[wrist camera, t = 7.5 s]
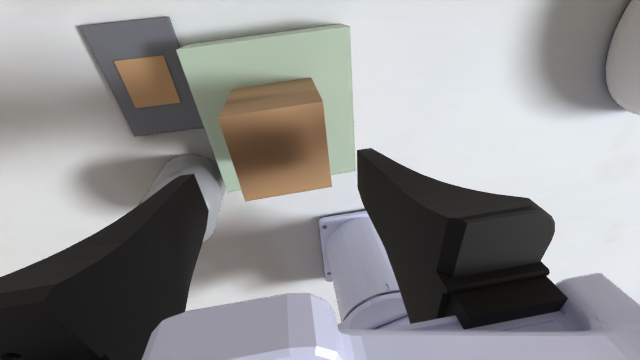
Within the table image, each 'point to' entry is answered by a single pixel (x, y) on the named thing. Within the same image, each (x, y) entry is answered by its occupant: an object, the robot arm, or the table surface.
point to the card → (145, 74)
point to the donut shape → (625, 60)
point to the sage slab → (273, 67)
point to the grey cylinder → (206, 179)
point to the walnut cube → (277, 138)
